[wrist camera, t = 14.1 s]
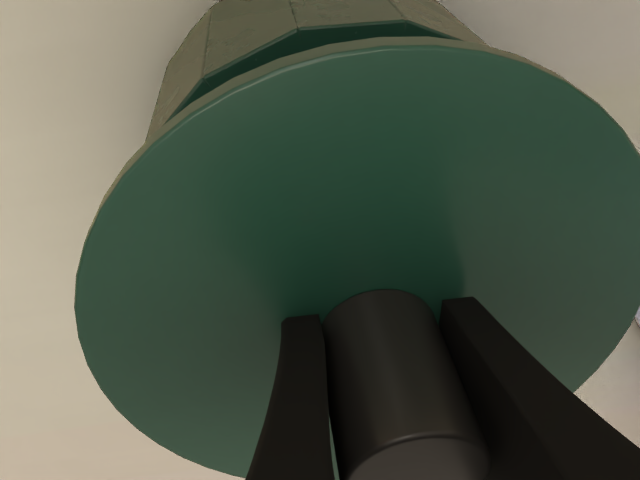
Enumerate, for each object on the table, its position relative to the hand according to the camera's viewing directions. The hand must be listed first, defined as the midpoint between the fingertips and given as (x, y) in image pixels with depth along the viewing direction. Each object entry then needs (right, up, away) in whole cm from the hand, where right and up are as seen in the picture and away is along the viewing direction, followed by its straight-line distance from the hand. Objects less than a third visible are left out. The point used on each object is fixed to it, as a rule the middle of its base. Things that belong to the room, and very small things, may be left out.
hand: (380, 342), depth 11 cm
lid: (0, 0, +1) cm, 1 cm away
